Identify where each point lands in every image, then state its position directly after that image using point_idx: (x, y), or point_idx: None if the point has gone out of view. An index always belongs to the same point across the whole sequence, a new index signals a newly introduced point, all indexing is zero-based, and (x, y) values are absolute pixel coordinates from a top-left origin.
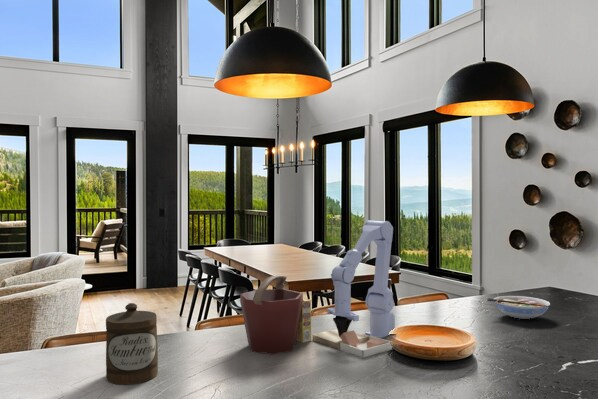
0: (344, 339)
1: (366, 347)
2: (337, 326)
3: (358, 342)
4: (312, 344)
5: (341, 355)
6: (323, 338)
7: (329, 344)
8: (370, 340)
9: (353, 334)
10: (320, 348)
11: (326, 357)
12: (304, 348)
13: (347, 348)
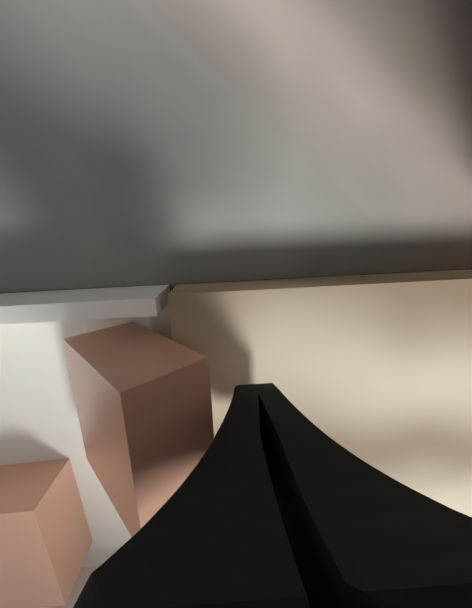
0: (129, 352)
1: (84, 465)
2: (319, 455)
3: (86, 448)
4: (443, 181)
5: (37, 193)
6: (417, 281)
7: (311, 279)
8: (34, 542)
9: (118, 493)
10: (308, 165)
11: (51, 19)
12: (412, 21)
13: (62, 297)
